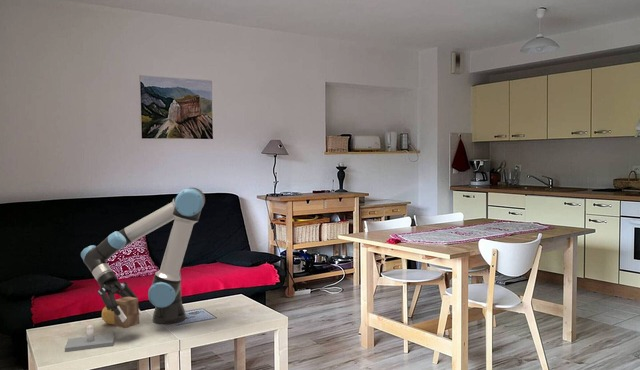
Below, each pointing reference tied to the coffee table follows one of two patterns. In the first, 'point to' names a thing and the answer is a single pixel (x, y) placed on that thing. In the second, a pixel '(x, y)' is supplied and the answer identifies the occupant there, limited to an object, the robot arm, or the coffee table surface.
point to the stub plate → (89, 341)
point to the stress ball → (108, 316)
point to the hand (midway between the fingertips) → (132, 317)
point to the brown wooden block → (127, 312)
